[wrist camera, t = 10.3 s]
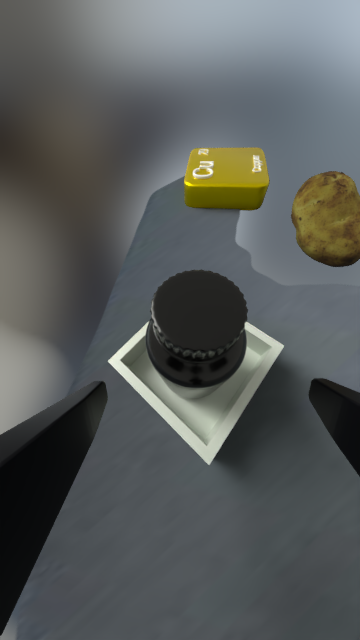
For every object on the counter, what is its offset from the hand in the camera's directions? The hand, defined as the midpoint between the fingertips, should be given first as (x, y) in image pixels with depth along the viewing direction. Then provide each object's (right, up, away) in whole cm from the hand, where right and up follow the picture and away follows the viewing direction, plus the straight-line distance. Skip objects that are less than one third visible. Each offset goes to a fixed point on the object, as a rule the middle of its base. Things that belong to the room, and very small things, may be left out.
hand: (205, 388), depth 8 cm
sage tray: (+1, -2, +12) cm, 13 cm away
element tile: (+8, +31, +30) cm, 44 cm away
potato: (+20, +15, +21) cm, 33 cm away
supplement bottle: (0, -2, +12) cm, 12 cm away
